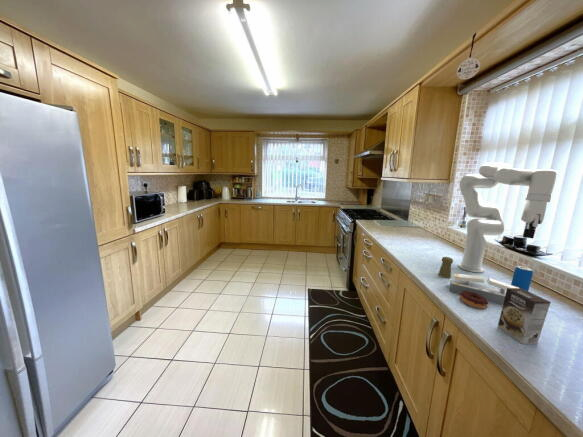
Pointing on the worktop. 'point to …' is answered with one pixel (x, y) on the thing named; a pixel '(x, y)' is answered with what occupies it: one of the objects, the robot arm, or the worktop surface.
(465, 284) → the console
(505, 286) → the block
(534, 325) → the coffee box
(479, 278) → the block
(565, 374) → the worktop surface
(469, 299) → the donut
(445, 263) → the cork
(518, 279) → the beverage can
